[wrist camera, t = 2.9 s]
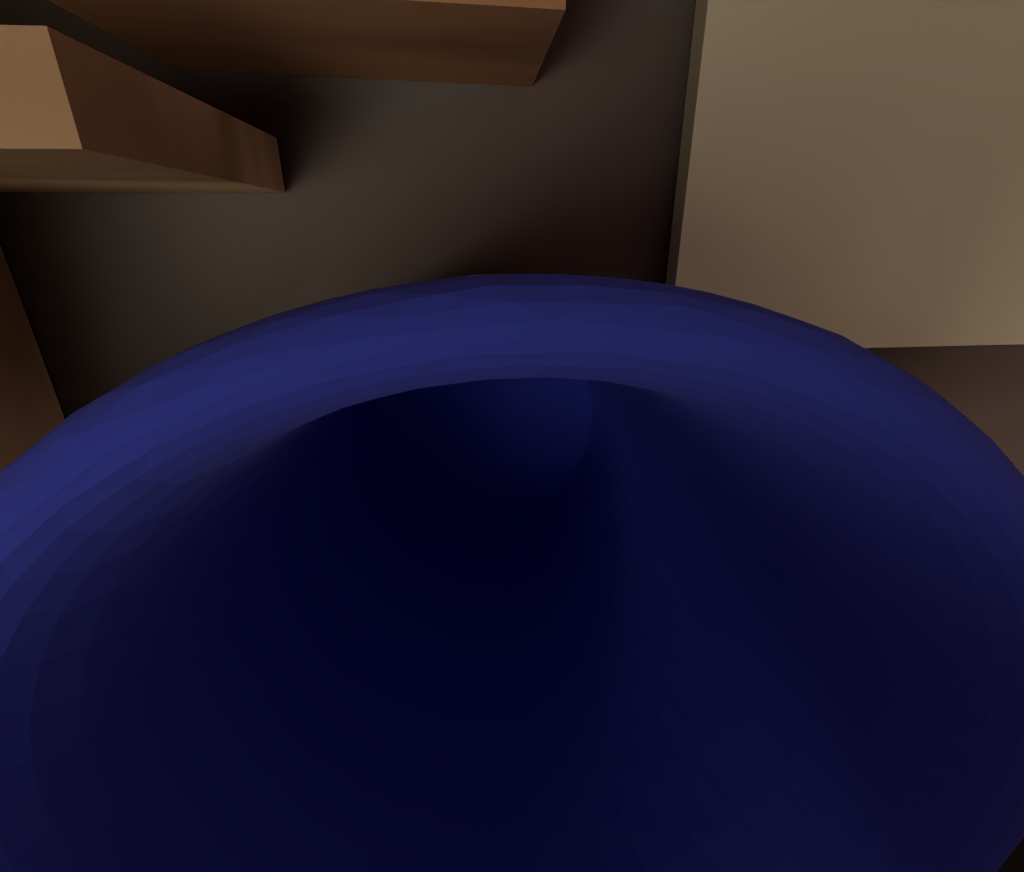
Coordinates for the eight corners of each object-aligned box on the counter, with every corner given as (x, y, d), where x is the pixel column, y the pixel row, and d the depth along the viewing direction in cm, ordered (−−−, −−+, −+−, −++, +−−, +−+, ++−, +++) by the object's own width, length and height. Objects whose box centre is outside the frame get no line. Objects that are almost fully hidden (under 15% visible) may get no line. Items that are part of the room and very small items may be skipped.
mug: (345, 651, 15) (161, 1276, 6) (301, 230, 11) (-625, 228, 2) (604, 645, 16) (785, 1193, 7) (665, 249, 12) (1419, 318, 2)
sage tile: (729, -308, 8) (747, -346, 8) (1310, -264, 9) (1364, -296, 9) (658, 347, 12) (667, 352, 12) (1060, 337, 13) (1086, 342, 13)
